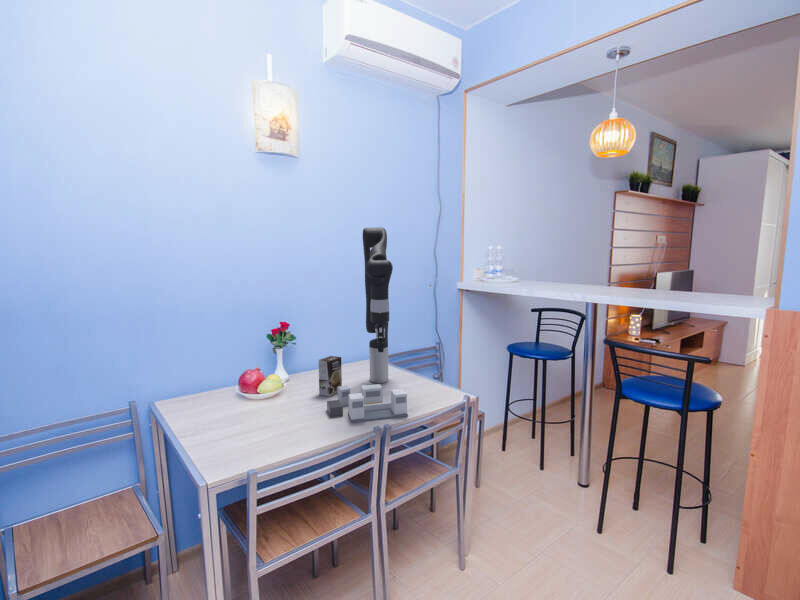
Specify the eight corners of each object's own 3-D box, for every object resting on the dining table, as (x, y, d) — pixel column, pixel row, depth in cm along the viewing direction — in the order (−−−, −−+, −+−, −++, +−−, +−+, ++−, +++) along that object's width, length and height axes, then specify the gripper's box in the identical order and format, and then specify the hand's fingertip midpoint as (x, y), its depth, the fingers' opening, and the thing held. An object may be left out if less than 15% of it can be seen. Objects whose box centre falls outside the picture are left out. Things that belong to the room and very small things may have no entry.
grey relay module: (337, 402, 177) (337, 386, 176) (346, 400, 179) (346, 385, 178) (341, 406, 173) (341, 390, 172) (350, 404, 174) (350, 388, 173)
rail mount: (348, 413, 165) (347, 392, 164) (401, 407, 171) (401, 387, 170) (351, 422, 156) (351, 400, 155) (407, 416, 162) (407, 394, 161)
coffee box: (330, 397, 184) (329, 361, 182) (318, 394, 187) (317, 359, 185) (342, 390, 192) (341, 356, 190) (331, 388, 195) (330, 355, 193)
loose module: (361, 404, 175) (361, 385, 174) (380, 402, 177) (379, 384, 177) (363, 408, 170) (363, 389, 169) (382, 406, 173) (382, 387, 172)
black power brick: (327, 410, 169) (326, 401, 168) (339, 409, 171) (339, 399, 170) (330, 418, 161) (329, 408, 161) (342, 416, 163) (342, 406, 163)
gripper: (370, 307, 174) (371, 345, 176) (370, 313, 160) (371, 354, 162) (388, 306, 174) (388, 344, 177) (390, 312, 160) (390, 353, 162)
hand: (380, 349), depth 169 cm, fingers open, 8 cm apart
